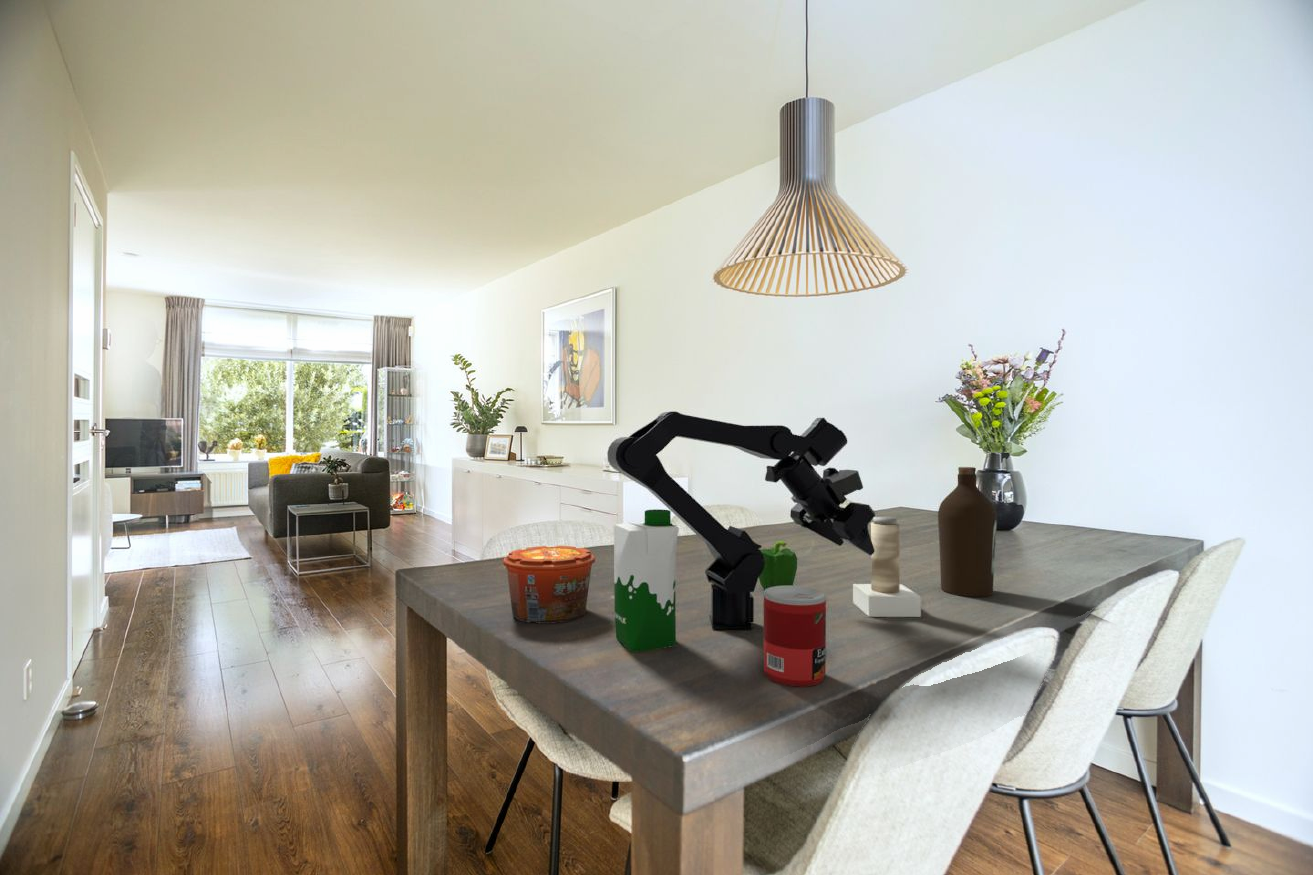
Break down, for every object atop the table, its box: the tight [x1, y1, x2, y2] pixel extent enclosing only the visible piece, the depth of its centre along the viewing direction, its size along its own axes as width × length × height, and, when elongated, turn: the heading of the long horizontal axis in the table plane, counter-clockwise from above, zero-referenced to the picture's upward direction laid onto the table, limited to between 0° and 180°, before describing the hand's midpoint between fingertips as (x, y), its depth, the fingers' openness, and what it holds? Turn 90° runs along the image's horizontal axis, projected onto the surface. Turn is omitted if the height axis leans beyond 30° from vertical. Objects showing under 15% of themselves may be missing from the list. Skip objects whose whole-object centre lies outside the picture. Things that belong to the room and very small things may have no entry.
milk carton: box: [613, 509, 680, 653], centre depth 95 cm, size 9×9×20 cm
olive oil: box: [937, 466, 998, 598], centre depth 125 cm, size 11×11×25 cm
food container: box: [502, 545, 596, 624], centre depth 110 cm, size 16×16×11 cm
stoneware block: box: [852, 583, 922, 618], centre depth 112 cm, size 9×9×4 cm
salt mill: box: [870, 516, 901, 593], centre depth 112 cm, size 5×5×13 cm
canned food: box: [763, 585, 827, 688], centre depth 82 cm, size 8×8×11 cm
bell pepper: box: [758, 540, 798, 590], centre depth 128 cm, size 8×8×10 cm
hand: (856, 548), depth 111 cm, fingers open, 9 cm apart
